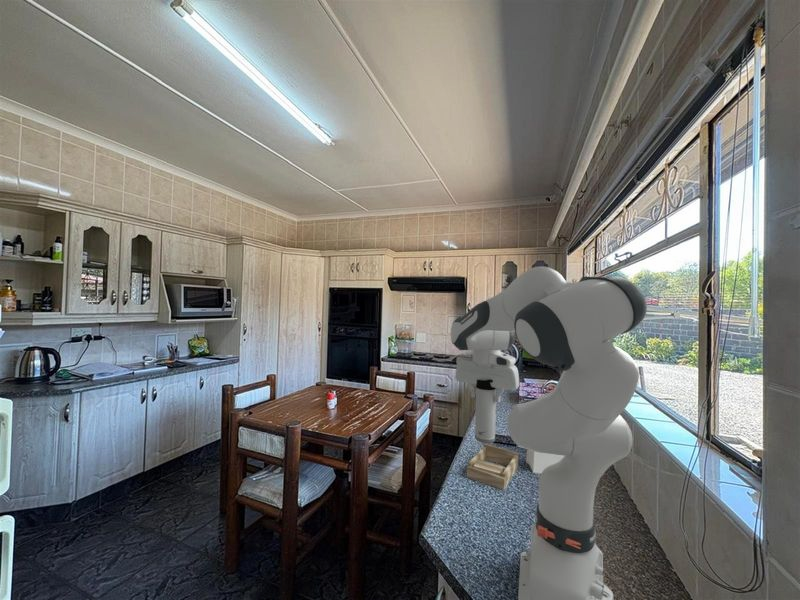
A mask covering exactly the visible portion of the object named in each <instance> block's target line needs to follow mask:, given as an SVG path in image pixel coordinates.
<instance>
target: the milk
mask: <svg viewBox="0 0 800 600" xmlns="http://www.w3.org/2000/svg"><path fill="white" fill-rule="evenodd" d="M563 457H564V455H555V454H547V453H539V452H535V451H532V450H528V449H526V458H525V459H526V460H525V462H526V464H528V466H529V467H530V469H531V471H532V473H534V474H541V473H542V472H543V470H544V469H545V468H546V467H548V466H550V465H553V464H555V463H557V462H559V461H560V460H561V459H563Z"/></svg>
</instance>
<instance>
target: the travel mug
mask: <svg viewBox="0 0 800 600" xmlns="http://www.w3.org/2000/svg"><path fill="white" fill-rule="evenodd" d="M490 382H493V380H477V384H475V391H476V398H475V414H474V415H475V416H474V417H475V421H474V423H475V425H474V438H475V441H477V442H479V443H482V444H492V443H494V442H495V441H496V408H497V407H496V406H497V405H496V403H497V402H494V396H495V395H497V393H496V391H497V388H495V387H491V384H490Z"/></svg>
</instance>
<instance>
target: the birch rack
mask: <svg viewBox="0 0 800 600" xmlns="http://www.w3.org/2000/svg"><path fill="white" fill-rule="evenodd" d="M477 460H478V461H482V462H486V463H489V464H493V465H497V466H500V467H503V473H502V476H499V475H496V474H493V473H490V472H487V471H483V470H480V469H477V468H474V465H475V463H476V462H477ZM489 461H490V462H489ZM492 462H493V463H492ZM496 463H497V464H496ZM467 464H468V465H467V466H466V478H468V479H472V480H475V481H476V482H479V483H482V484H486V485H488V486H491V487H494V488H497V489H500V490H503V491H505V490H506V488H507V487H508V485H509V483H510V482H511V480H512V478H513V477H514V475H515V473H516V472H517V471H518V469H519V452H518V451H517V452H516V451H514V450H510V449H506V448H502V447H499V446H496V445H492V444H489V443H483V446H482V447H481V449H480V450H479V451H478V452H477V453H476V454H475V455H474V456H473V457H471V459H470V460H469V461H468V463H467Z"/></svg>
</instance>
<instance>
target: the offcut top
mask: <svg viewBox="0 0 800 600" xmlns="http://www.w3.org/2000/svg"><path fill="white" fill-rule="evenodd" d="M493 464H494V463H493ZM493 464H489V463H486V462H482V461H478V460H477V462H476V463H475V465H474V468H477V469H480V470H483V471H487V472H490V473H493V474H496V475H499V476H501V475H502V473H503V467H504V466H503V467H500V466H501V465H500V466H497V465H498V464H496V465H493Z"/></svg>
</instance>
